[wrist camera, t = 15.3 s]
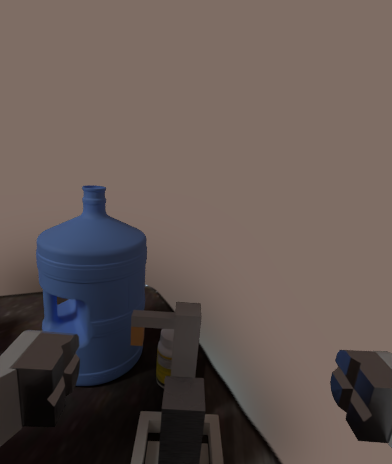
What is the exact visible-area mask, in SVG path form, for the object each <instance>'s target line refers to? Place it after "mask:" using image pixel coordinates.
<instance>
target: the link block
mask: <svg viewBox="0 0 392 464" xmlns="http://www.w3.org/2000/svg"><path fill="white" fill-rule="evenodd" d="M204 420H205V393H204V378H192V377H176V376H165V385H164V394H163V402H162V413H161V428H160V442H159V457H158V464H199V462H200V453H201V445H202V437H203V428H204Z"/></svg>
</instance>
